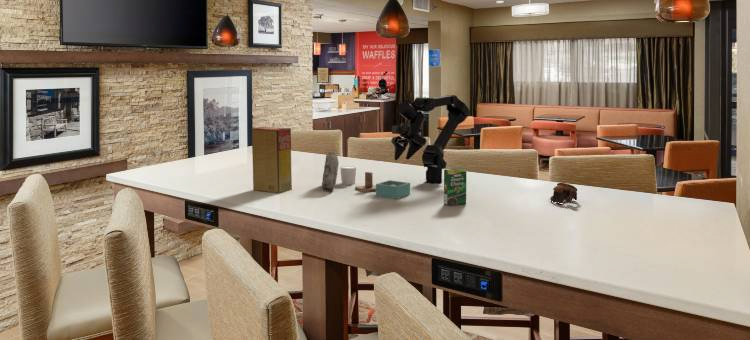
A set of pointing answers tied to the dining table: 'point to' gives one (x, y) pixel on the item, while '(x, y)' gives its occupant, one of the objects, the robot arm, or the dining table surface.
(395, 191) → the teal open-top box
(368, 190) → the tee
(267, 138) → the food packaging
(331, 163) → the decorative rock
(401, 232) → the dining table surface
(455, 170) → the coffee box
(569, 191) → the dark brown lump
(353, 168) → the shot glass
